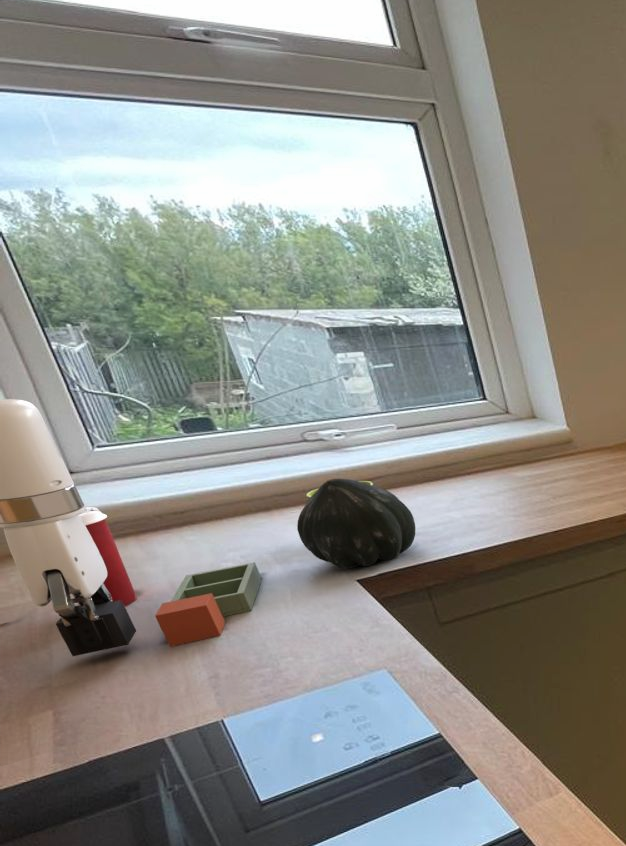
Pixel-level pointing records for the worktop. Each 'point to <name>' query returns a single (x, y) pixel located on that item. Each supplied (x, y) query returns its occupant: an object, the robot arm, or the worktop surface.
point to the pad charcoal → (115, 621)
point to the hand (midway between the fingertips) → (103, 640)
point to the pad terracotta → (190, 619)
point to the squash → (355, 524)
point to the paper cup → (109, 556)
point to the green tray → (224, 587)
